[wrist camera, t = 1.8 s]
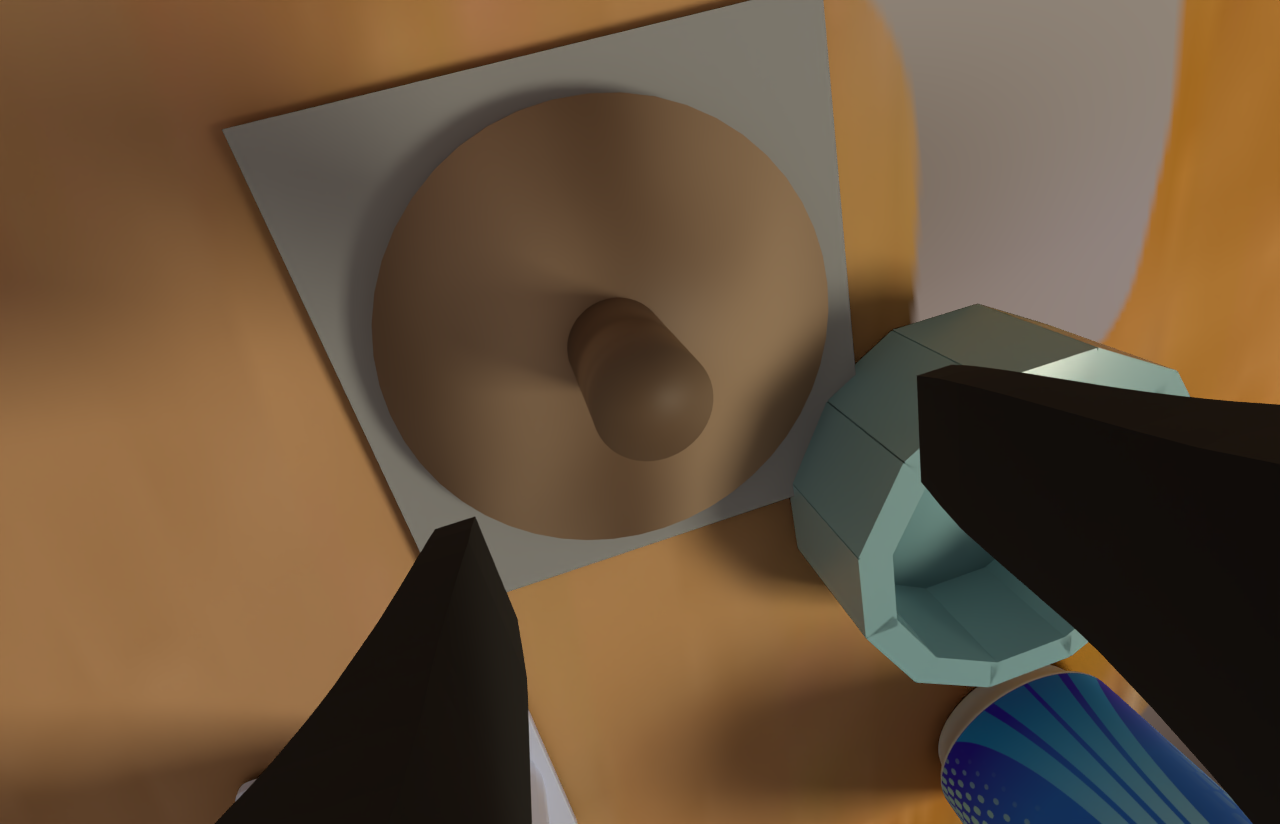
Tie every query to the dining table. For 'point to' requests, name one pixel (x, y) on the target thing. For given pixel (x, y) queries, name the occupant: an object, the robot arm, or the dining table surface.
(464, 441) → the lid
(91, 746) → the dining table surface
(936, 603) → the bowl
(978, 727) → the beer can
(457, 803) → the robot arm
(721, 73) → the mat
